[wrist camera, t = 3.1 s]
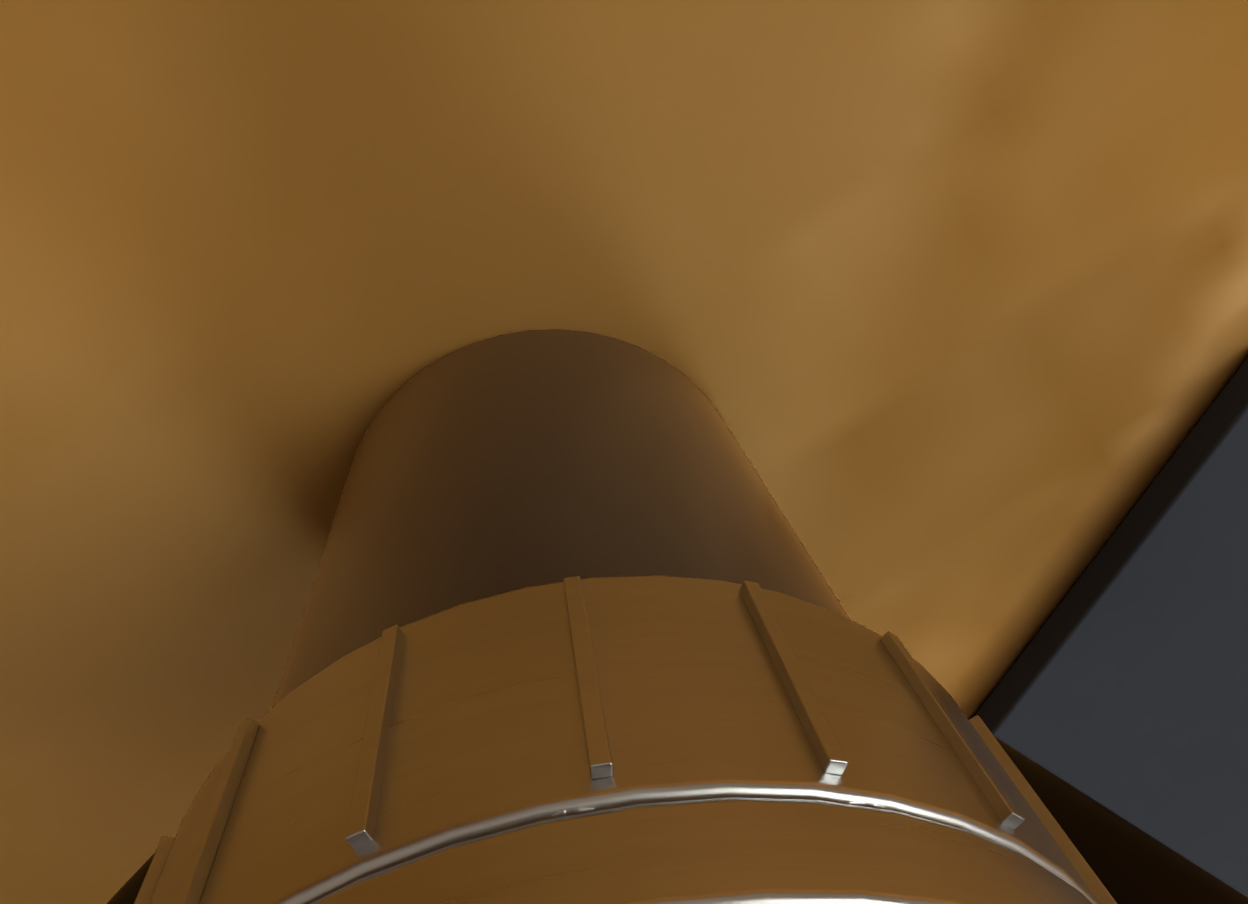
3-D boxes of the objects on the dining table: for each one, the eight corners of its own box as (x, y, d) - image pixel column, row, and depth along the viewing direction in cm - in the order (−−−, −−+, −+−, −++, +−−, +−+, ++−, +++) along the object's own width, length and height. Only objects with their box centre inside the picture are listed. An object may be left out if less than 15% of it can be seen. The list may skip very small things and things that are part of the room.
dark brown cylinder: (638, 715, 15) (793, 1408, 7) (290, 616, 13) (15, 1393, 6) (813, 421, 13) (1271, 942, 5) (434, 256, 11) (321, 690, 4)
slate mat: (1112, 1164, 24) (1126, 1189, 24) (676, 1103, 20) (681, 1133, 19) (1713, 602, 18) (1751, 620, 17) (1257, 341, 14) (1289, 353, 13)
